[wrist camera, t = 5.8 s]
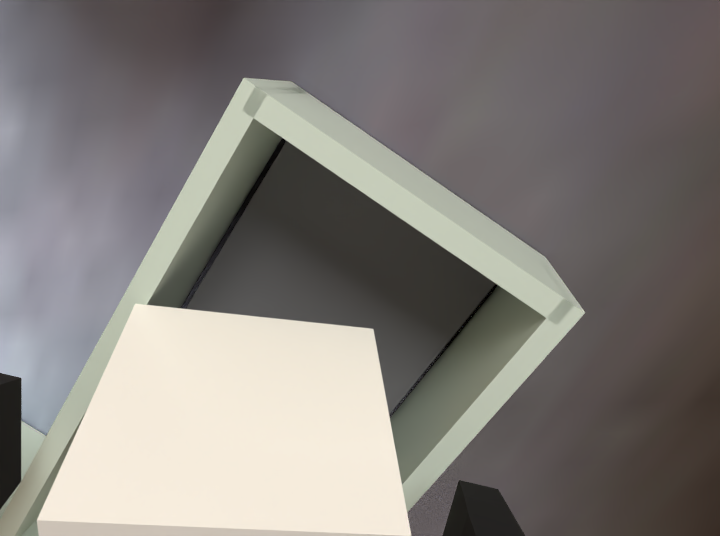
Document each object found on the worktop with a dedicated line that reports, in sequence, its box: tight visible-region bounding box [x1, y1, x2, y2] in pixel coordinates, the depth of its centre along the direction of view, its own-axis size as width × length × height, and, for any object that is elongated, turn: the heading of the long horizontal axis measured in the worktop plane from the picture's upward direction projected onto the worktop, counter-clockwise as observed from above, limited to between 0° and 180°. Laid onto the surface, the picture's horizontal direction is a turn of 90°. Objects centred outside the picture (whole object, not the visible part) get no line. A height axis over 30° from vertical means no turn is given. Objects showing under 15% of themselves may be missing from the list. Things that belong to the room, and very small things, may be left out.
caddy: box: [0, 78, 585, 536], centre depth 11 cm, size 14×11×3 cm
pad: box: [186, 141, 496, 415], centre depth 13 cm, size 5×10×1 cm, turn 146°
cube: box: [37, 304, 411, 536], centre depth 9 cm, size 4×4×4 cm
